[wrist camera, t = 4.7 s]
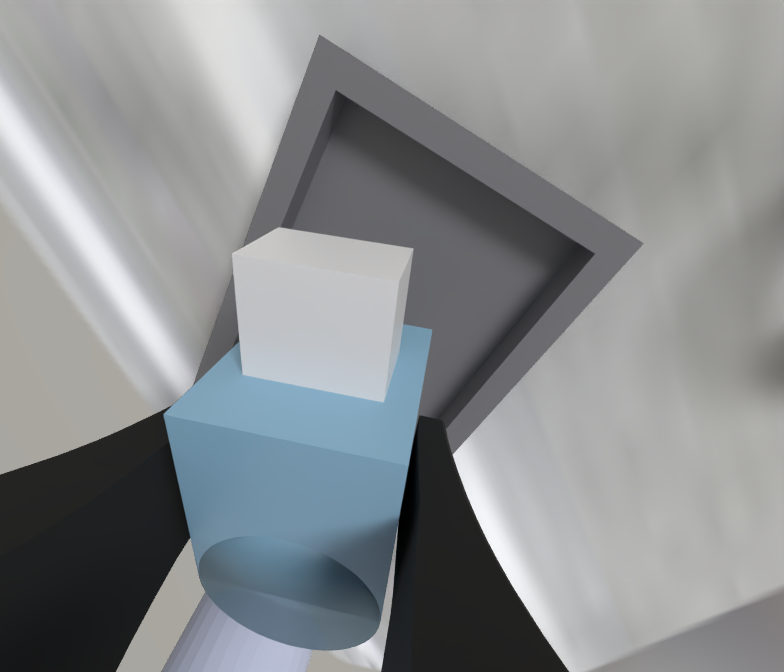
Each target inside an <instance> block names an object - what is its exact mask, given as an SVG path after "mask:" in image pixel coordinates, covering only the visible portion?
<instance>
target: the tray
mask: <svg viewBox="0 0 784 672" xmlns="http://www.w3.org/2000/svg"><path fill="white" fill-rule="evenodd" d="M278 227H280V228H286V229H293V230H299V231H305V232H312V233H318V234H325V235H331V236H337V237H344V238H350V239H356V240H363V241H369V242H375V243H382V244H388V245H394V246H401V247H407V248H414V249H413V256H412V264H411V271H410V278H409V285H408V293H407V300H406V307H405V314H404V322H403V324H404V325H410V326H416V327H422V328H427V329H433V330H432V336H431V341H430V347H429V353H428V358H427V364H426V370H425V375H424V381H423V387H422V392H421V398H420V404H419V409H418V415H417V421H416V426H415V432H416V427H417V423H418V419H419V415H421V416H426V417H430V418H435V419H439V420H442V421H443V422H444V424H445V427H446V432H447V437H448V441H449V445H450V448H451V452H452V455H453V453H454V452H455V451H456V450H457V449H458V448H459V447H460V446H461V445H462V443H463V442H464V441H465V440H466V439H467V438H468V437H469V436H470V435H471V434H472V432H473V431H474V430H475V429H476V428H477V427H478V426H479V425H480V424H481V423H482V421H483V420H484V419H485V418H486V417H487V416H488V415H489V414H490V413H491V411H492V410H493V409H494V408H495V407H496V406H497V405H498V404H499V403H500V402H501V400H502V399H503V398H504V397H505V396H506V395H507V394H508V393H509V392H510V390H511V389H512V388H513V387H514V386H515V385H516V384H517V383H518V382H519V381H520V379H521V378H522V377H523V376H524V375H525V374H526V373H527V372H528V371H529V370H530V368H531V367H532V366H533V365H534V364H535V363H536V362H537V361H538V360H539V358H540V357H541V356H542V355H543V354H544V353H545V352H546V351H547V350H548V349H549V347H550V346H551V345H552V344H553V343H554V342H555V341H556V340H557V339H558V337H559V336H560V335H561V334H562V333H563V332H564V331H565V330H566V329H567V328H568V326H569V325H570V324H571V323H572V322H573V321H574V320H575V319H576V318H577V317H578V315H579V314H580V313H581V312H582V311H583V310H584V309H585V308H586V307H587V305H588V304H589V303H590V302H591V301H592V300H593V299H594V298H595V297H596V296H597V294H598V293H599V292H600V291H601V290H602V289H603V288H604V287H605V286H606V284H607V283H608V282H609V281H610V280H611V279H612V278H613V277H614V276H615V275H616V273H617V272H618V271H619V270H620V269H621V268H622V267H623V266H624V265H625V264H626V262H627V261H628V260H629V259H630V258H631V257H632V256H633V255H634V254H635V252H636V251H637V250H638V249H639V248H640V247H641V246H642V245H643V244H644V243H642V242H640V241H639V240H637V239H636V238H634V237H633V236H631V235H630V234H628V233H626V232H625V231H623V230H622V229H620V228H619V227H617V226H616V225H614V224H613V223H611V222H609V221H608V220H606V219H605V218H603V217H602V216H600V215H599V214H597V213H595V212H594V211H592V210H591V209H589V208H588V207H586V206H585V205H583V204H581V203H580V202H578V201H577V200H575V199H574V198H572V197H571V196H569V195H568V194H566V193H564V192H563V191H561V190H560V189H558V188H557V187H555V186H554V185H552V184H550V183H549V182H547V181H546V180H544V179H543V178H541V177H540V176H538V175H536V174H535V173H533V172H532V171H530V170H529V169H527V168H526V167H524V166H523V165H521V164H519V163H518V162H516V161H515V160H513V159H512V158H510V157H509V156H507V155H505V154H504V153H502V152H501V151H499V150H498V149H496V148H495V147H493V146H491V145H490V144H488V143H487V142H485V141H484V140H482V139H481V138H479V137H478V136H476V135H474V134H473V133H471V132H470V131H468V130H467V129H465V128H464V127H462V126H460V125H459V124H457V123H456V122H454V121H453V120H451V119H450V118H448V117H447V116H445V115H443V114H442V113H440V112H439V111H437V110H436V109H434V108H433V107H431V106H429V105H428V104H426V103H425V102H423V101H422V100H420V99H419V98H417V97H415V96H414V95H412V94H411V93H409V92H408V91H406V90H405V89H403V88H402V87H400V86H398V85H397V84H395V83H394V82H392V81H391V80H389V79H388V78H386V77H384V76H383V75H381V74H380V73H378V72H377V71H375V70H374V69H372V68H370V67H369V66H367V65H366V64H364V63H363V62H361V61H360V60H358V59H357V58H355V57H353V56H352V55H350V54H349V53H347V52H346V51H344V50H343V49H341V48H339V47H338V46H336V45H335V44H333V43H332V42H330V41H329V40H327V39H325V38H324V37H322V36H321V35H319V37H318V40H317V43H316V46H315V48H314V51H313V54H312V57H311V59H310V62H309V65H308V68H307V70H306V73H305V76H304V79H303V82H302V84H301V87H300V90H299V93H298V95H297V98H296V101H295V104H294V107H293V109H292V112H291V115H290V118H289V120H288V123H287V126H286V129H285V132H284V134H283V137H282V140H281V143H280V145H279V148H278V151H277V154H276V157H275V159H274V162H273V165H272V168H271V170H270V173H269V176H268V179H267V181H266V184H265V187H264V190H263V193H262V195H261V198H260V201H259V204H258V206H257V209H256V212H255V215H254V218H253V220H252V223H251V226H250V229H249V231H248V234H247V237H246V240H245V243H244V245H243V247H244V246H246V245H248V244H250V243H252V242H253V241H255V240H257V239H259V238H260V237H262V236H264V235H266V234H268V233H269V232H271V231H273V230H275V229H277V228H278ZM238 342H239V330H238V319H237V307H236V296H235V285H234V274H233V276H232V279H231V281H230V284H229V287H228V290H227V292H226V295H225V298H224V301H223V304H222V306H221V309H220V312H219V315H218V317H217V320H216V323H215V326H214V329H213V331H212V334H211V337H210V340H209V342H208V345H207V348H206V351H205V354H204V356H203V359H202V362H201V365H200V367H199V370H198V373H197V376H196V379H195V381H194V384H195V383H197V382H198V381H199V380H200V379H201V378H202V377H203V376H204V375H205V374H206V373H207V372H208V371H209V370H210V369H211V368H212V367H213V366H214V365H215V364H216V363H217V362H218V361H219V360H220V359H222V358H223V357H224V356H225V355H226V354H227V353H228V352H229V351H230V350H231V349H232V348H233V347H234V346H235V345H236V344H237V343H238ZM194 384H193V385H194ZM415 432H414V436H415ZM413 440H414V438H413ZM412 444H413V443H412Z"/></svg>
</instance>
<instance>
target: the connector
mask: <svg viewBox="0 0 784 672" xmlns="http://www.w3.org/2000/svg"><path fill="white" fill-rule="evenodd" d="M413 249H414V248H407V247H401V246H394V245H388V244H382V243H375V242H369V241H363V240H356V239H350V238H344V237H337V236H331V235H325V234H318V233H312V232H305V231H299V230H293V229H286V228H280V227H278V228H277V229H275V230H273V231H271V232H269V233H268V234H266V235H264V236H262V237H260V238H259V239H257V240H255V241H253V242H252V243H250V244H248V245H246V246H244V247H243V248H241V249H239V250H237V251H236V252H234V253H232V263H233V274H234V285H235V296H236V307H237V319H238V330H239V342H238V343H237V344H236V345H235V346H234V347H233V348H232V349H231V350H230V351H229V352H228V353H227V354H226V355H225V356H224V357H223V358H222V359H220V360H219V361H218V362H217V363H216V364H215V365H214V366H213V367H212V368H211V369H210V370H209V371H208V372H207V373H206V374H205V375H204V376H203V377H202V378H201V379H200V380H199V381H198V382H197V383H195V384H194V385H193V386H192V387H191V388H190V389H189V390H188V391H187V392H186V393H185V394H184V395H183V396H182V397H181V398H180V399H179V400H178V401H177V402H176V403H175V404H174V405H173V406H172V407H171V408H169V409H168V410H167V411H166V412H165V413H164V414H163V415H164V420H165V424H166V429H167V433H168V438H169V442H170V447H171V451H172V456H173V460H174V465H175V470H176V474H177V479H178V483H179V488H180V492H181V497H182V501H183V506H184V510H185V515H186V519H187V524H188V528H189V533H190V538H191V542H192V546H193V551H194V556H195V560H196V565H197V569H198V573H199V578H200V581H201V584H202V586H203V588H204V590H205V592H206V593H207V595H208V596H209V597H210V599H211V600H212V601H213V602H214V603H215V605H216V606H218V607H219V608H220V609H221V610H222V611H223V612H224V613H225V614H227V615H228V616H229V617H230V618H232V619H233V620H235V621H236V622H237V623H239V624H241V625H242V626H244V627H246V628H247V629H249V630H251V631H253V632H255V633H257V634H259V635H261V636H264V637H266V638H268V639H271V640H274V641H277V642H280V643H283V644H287V645H290V646H294V647H299V648H305V649H311V650H341V649H347V648H351V647H355V646H358V645H360V644H362V643H364V642H366V641H367V640H369V639H370V638H371V637H372V636H373V635H374V634H375V633H376V631H377V629H378V628H379V624H380V621H381V615H382V610H383V604H384V599H385V593H386V587H387V582H388V576H389V571H390V565H391V560H392V554H393V549H394V543H395V538H396V532H397V527H398V521H399V516H400V510H401V505H402V499H403V494H404V488H405V482H406V477H407V471H408V466H409V460H410V455H411V449H412V443H413V438H414V432H415V426H416V421H417V415H418V409H419V404H420V398H421V392H422V387H423V381H424V375H425V370H426V364H427V358H428V353H429V347H430V341H431V336H432V330H433V329H427V328H422V327H416V326H410V325H404V324H403V322H404V314H405V307H406V300H407V293H408V285H409V278H410V271H411V264H412V256H413Z"/></svg>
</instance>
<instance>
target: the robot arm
mask: <svg viewBox="0 0 784 672" xmlns="http://www.w3.org/2000/svg"><path fill="white" fill-rule="evenodd" d="M172 406H173V405H172ZM172 406H170V407H168V408H166V409H164V410H162V411H160V412H158V413H156V414H154V415H152V416H150V417H148V418H146V419H143V420H141V421H139V422H137V423H135V424H133V425H131V426H129V427H126V428H124V429H122V430H120V431H118V432H116V433H113V434H111V435H109V436H107V437H104V438H101V439H99V440H97V441H94V442H92V443H89V444H87V445H84V446H81V447H79V448H76V449H74V450H71V451H69V452H66V453H63V454H61V455H58V456H55V457H52V458H49V459H46V460H43V461H40V462H37V463H34V464H31V465H28V466H25V467H22V468H19V469H16V470H13V471H10V472H7V473H4V474H1V475H0V672H116V670H117V668H118V666H119V664H120V662H121V660H122V659H123V657H124V655H125V652H126V650H127V649H128V647H129V645H130V643H131V641H132V639H133V637H134V635H135V633H136V632H137V630H138V628H139V626H140V624H141V622H142V620H143V619H144V617H145V615H146V613H147V611H148V609H149V607H150V605H151V603H152V602H153V600H154V598H155V596H156V595H157V593H158V591H159V589H160V587H161V586H162V584H163V582H164V580H165V579H166V577H167V575H168V573H169V572H170V570H171V568H172V566H173V564H174V563H175V561H176V559H177V557H178V556H179V554H180V553H181V551H182V550H183V548H184V546H185V545H186V543H187V542H188V540H189V539H190V533H189V528H188V524H187V519H186V515H185V510H184V506H183V501H182V497H181V492H180V488H179V483H178V479H177V474H176V470H175V465H174V460H173V456H172V451H171V447H170V442H169V438H168V433H167V429H166V424H165V420H164V415H163V414H164V413H165V412H166V411H167V410H168V409H169V408H171V407H172ZM311 653H312V650H311V649H305V648H299V647H294V646H290V645H287V644H283V643H280V642H277V641H274V640H271V639H268V638H266V637H264V636H261V635H259V634H257V633H255V632H253V631H251V630H249V629H247V628H246V627H244V626H242V625H241V624H239V623H237V622H236V621H235V620H233V619H232V618H230V617H229V616H228V615H227V614H225V613H224V612H223V611H222V610H221V609H220V608H219V607H218V606H216V605H215V603H214V602H213V601H212V600H211V599H210V597H209V596H208V595H207V593H206V592H205V594H204V595H203V597H202V599H201V601H200V603H199V604H198V606H197V608H196V610H195V612H194V614H193V615H192V617H191V619H190V621H189V622H188V624H187V626H186V628H185V630H184V631H183V633H182V635H181V637H180V639H179V641H178V642H177V644H176V646H175V648H174V650H173V651H172V653H171V655H170V657H169V659H168V660H167V662H166V664H165V666H164V668H163V669H162V671H161V672H306V671H307V667H308V664H309V660H310V657H311ZM381 672H569V671H568V670H567V668H566V667H565V665H564V664H563V662H562V661H561V660H560V658H559V657H558V655H557V654H556V652H555V651H554V650H553V648H552V647H551V645H550V644H549V642H548V641H547V640H546V638H545V637H544V635H543V634H542V632H541V631H540V629H539V627H538V626H537V624H536V623H535V621H534V620H533V618H532V616H531V615H530V613H529V612H528V610H527V609H526V607H525V605H524V604H523V602H522V601H521V599H520V598H519V596H518V594H517V593H516V591H515V590H514V588H513V586H512V585H511V583H510V581H509V580H508V578H507V576H506V574H505V572H504V571H503V569H502V567H501V565H500V564H499V562H498V560H497V558H496V556H495V554H494V552H493V551H492V549H491V547H490V545H489V543H488V541H487V539H486V537H485V535H484V533H483V531H482V529H481V527H480V524H479V522H478V520H477V518H476V516H475V513H474V511H473V509H472V506H471V504H470V502H469V499H468V497H467V494H466V492H465V489H464V487H463V484H462V481H461V479H460V476H459V473H458V470H457V467H456V464H455V461H454V458H453V455H452V452H451V448H450V445H449V441H448V437H447V432H446V427H445V424H444V422H443V421H442V420H439V419H435V418H430V417H426V416H421V415H419V419H418V423H417V427H416V432H415V436H414V440H413V444H412V449H411V455H410V460H409V466H408V471H407V477H406V482H405V488H404V494H403V499H402V505H401V510H400V516H399V523H398V535H397V548H396V561H395V574H394V587H393V598H392V607H391V615H390V621H389V627H388V633H387V640H386V646H385V652H384V658H383V665H382V671H381Z"/></svg>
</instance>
